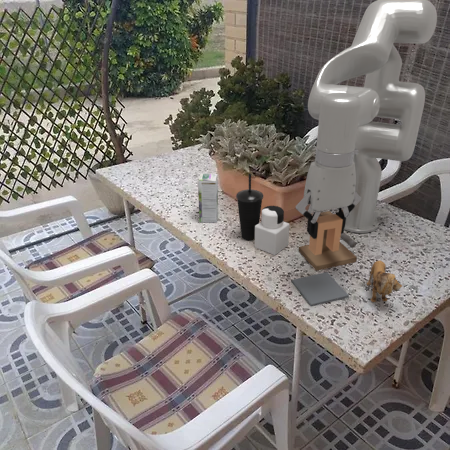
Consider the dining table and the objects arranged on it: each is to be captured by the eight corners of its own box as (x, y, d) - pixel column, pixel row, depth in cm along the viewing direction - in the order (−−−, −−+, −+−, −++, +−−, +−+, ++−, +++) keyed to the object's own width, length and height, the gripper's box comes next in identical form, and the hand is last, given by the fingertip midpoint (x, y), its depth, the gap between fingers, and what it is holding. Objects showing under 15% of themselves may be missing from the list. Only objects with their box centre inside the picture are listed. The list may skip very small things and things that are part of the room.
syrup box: (200, 214, 138) (198, 173, 131) (218, 214, 137) (217, 173, 130) (199, 222, 133) (196, 180, 126) (218, 222, 132) (216, 180, 125)
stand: (336, 243, 121) (341, 205, 115) (368, 273, 108) (375, 233, 102) (298, 251, 117) (301, 213, 111) (327, 283, 105) (332, 242, 99)
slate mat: (326, 273, 108) (327, 271, 108) (348, 297, 100) (348, 295, 99) (291, 281, 105) (291, 279, 105) (310, 306, 97) (311, 304, 97)
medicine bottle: (268, 237, 124) (269, 200, 118) (288, 245, 120) (291, 207, 114) (253, 247, 120) (254, 210, 114) (274, 256, 116) (276, 217, 110)
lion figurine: (398, 312, 95) (406, 280, 90) (374, 312, 95) (381, 280, 91) (379, 273, 108) (385, 243, 103) (358, 273, 108) (363, 244, 103)
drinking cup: (247, 246, 120) (247, 182, 110) (231, 235, 125) (230, 173, 116) (267, 237, 124) (269, 174, 114) (251, 227, 129) (251, 166, 120)
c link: (331, 244, 98) (335, 213, 95) (338, 250, 96) (342, 219, 92) (308, 248, 97) (311, 217, 93) (315, 255, 94) (318, 224, 91)
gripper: (360, 146, 91) (349, 219, 100) (287, 156, 87) (283, 232, 95) (381, 157, 85) (368, 234, 94) (305, 168, 80) (298, 248, 89)
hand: (325, 232), depth 94 cm, fingers closed on c link, 6 cm apart
